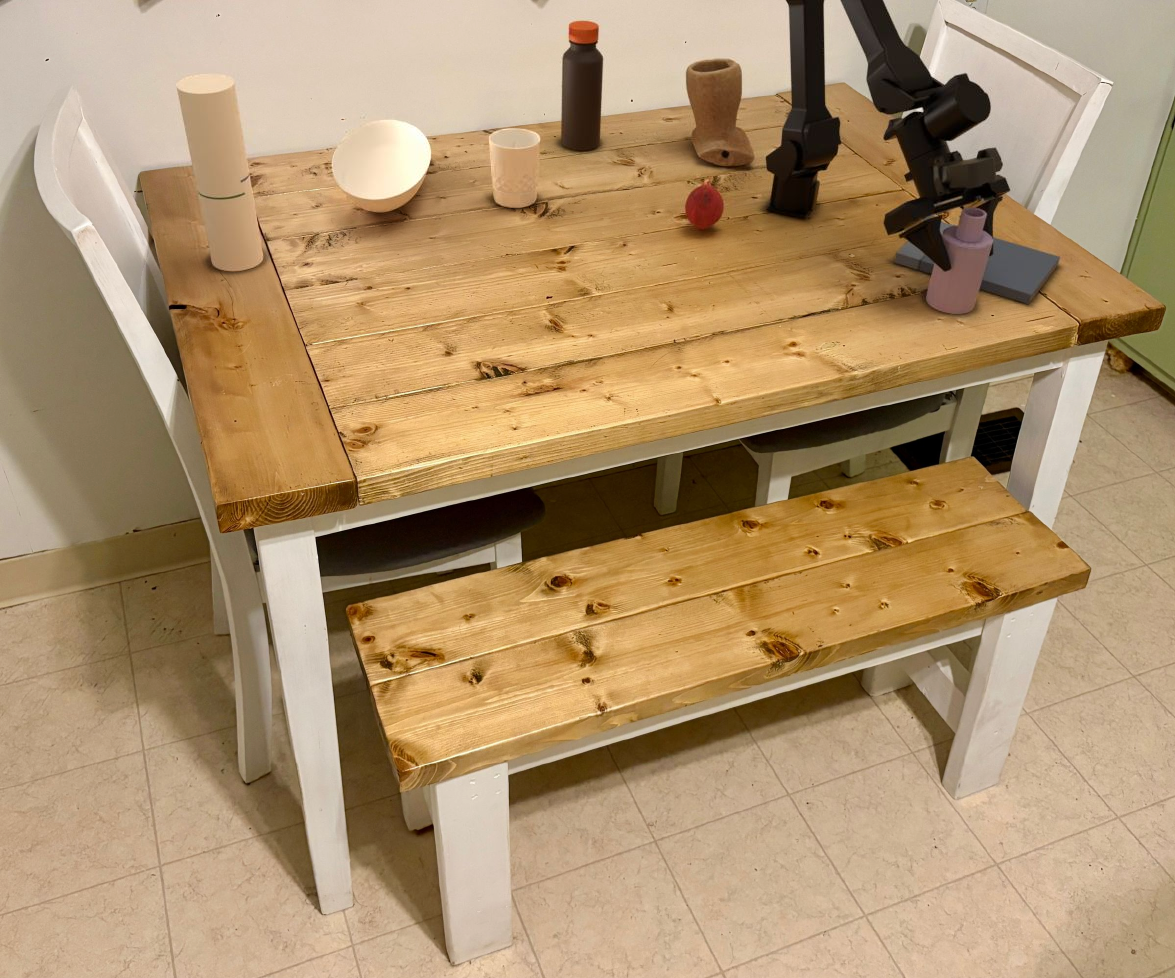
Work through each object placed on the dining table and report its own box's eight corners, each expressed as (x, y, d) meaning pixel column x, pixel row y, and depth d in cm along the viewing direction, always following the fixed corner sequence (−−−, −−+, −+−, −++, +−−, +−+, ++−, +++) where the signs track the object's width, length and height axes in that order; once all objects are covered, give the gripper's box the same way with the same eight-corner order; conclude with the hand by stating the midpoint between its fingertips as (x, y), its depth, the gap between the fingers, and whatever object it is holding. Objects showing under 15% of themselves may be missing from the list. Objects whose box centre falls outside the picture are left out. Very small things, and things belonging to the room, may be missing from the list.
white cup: (481, 204, 176) (479, 142, 170) (503, 184, 182) (502, 124, 176) (527, 214, 174) (527, 152, 168) (548, 194, 180) (548, 133, 173)
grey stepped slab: (894, 262, 166) (896, 252, 165) (928, 228, 175) (931, 218, 174) (1028, 304, 157) (1031, 294, 156) (1057, 266, 167) (1060, 255, 166)
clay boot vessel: (677, 133, 201) (684, 48, 191) (743, 135, 201) (754, 50, 191) (683, 169, 189) (692, 79, 179) (754, 170, 189) (766, 81, 180)
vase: (921, 307, 156) (944, 217, 147) (930, 286, 161) (953, 197, 152) (969, 318, 154) (996, 228, 145) (977, 296, 159) (1003, 208, 150)
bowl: (428, 237, 167) (426, 199, 163) (326, 237, 166) (321, 199, 162) (436, 155, 190) (434, 119, 186) (346, 154, 189) (342, 119, 185)
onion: (718, 240, 169) (724, 190, 164) (680, 235, 170) (685, 186, 165) (722, 223, 174) (728, 174, 169) (685, 219, 175) (690, 170, 169)
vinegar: (586, 154, 192) (589, 34, 179) (553, 145, 195) (554, 26, 182) (607, 142, 197) (612, 24, 184) (575, 132, 199) (577, 15, 187)
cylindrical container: (272, 252, 162) (245, 78, 146) (245, 275, 157) (213, 96, 141) (229, 243, 164) (197, 70, 148) (201, 265, 158) (164, 88, 142)
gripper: (918, 143, 141) (963, 259, 141) (1018, 116, 149) (1061, 226, 149) (863, 179, 151) (905, 287, 151) (959, 152, 159) (999, 255, 159)
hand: (969, 263), depth 152 cm, fingers open, 8 cm apart
